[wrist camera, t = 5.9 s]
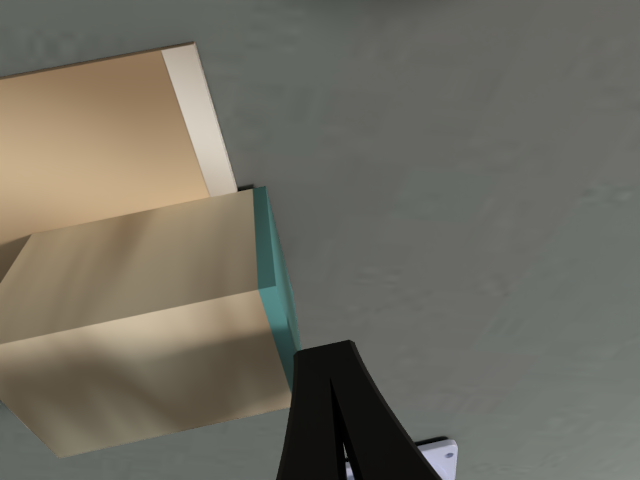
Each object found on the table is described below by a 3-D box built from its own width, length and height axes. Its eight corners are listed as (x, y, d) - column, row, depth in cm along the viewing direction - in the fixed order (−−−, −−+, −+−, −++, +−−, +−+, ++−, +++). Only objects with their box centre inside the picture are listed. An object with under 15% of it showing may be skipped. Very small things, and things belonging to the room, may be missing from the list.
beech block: (308, 402, 12) (59, 458, 12) (293, 293, 16) (99, 334, 16) (276, 286, 10) (-46, 354, 10) (265, 186, 13) (31, 233, 13)
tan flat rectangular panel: (288, 366, 19) (289, 372, 19) (31, 421, 18) (28, 428, 18) (194, 41, 11) (193, 44, 11) (-254, 123, 11) (-266, 129, 10)
